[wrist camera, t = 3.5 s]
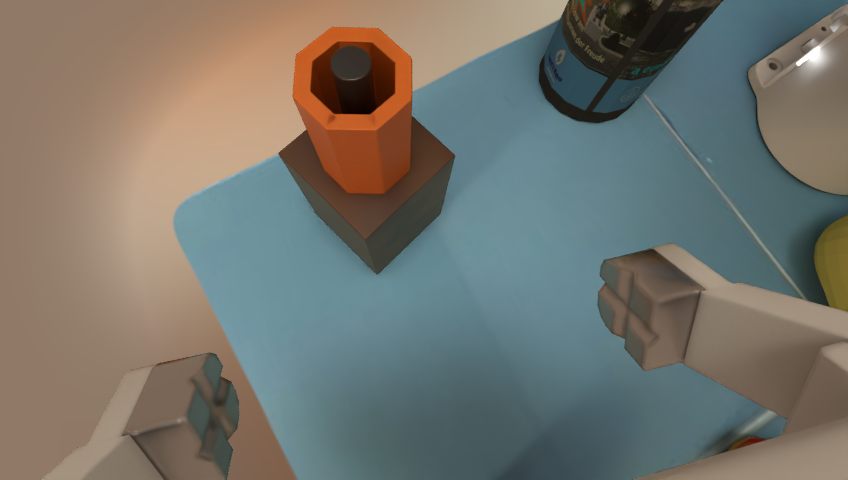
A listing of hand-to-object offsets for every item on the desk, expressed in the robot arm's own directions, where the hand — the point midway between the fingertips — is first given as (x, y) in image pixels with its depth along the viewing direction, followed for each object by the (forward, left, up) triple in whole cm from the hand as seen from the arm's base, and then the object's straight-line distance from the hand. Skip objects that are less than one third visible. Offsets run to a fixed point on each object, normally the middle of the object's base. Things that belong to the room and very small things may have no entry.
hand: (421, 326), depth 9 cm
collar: (-6, -10, -16) cm, 20 cm away
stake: (-6, -10, -28) cm, 31 cm away
